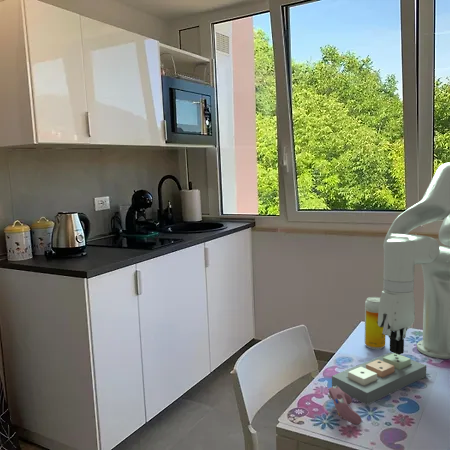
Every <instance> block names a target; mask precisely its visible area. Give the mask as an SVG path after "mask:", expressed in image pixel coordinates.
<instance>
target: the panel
mask: <svg viewBox="0 0 450 450" xmlns="http://www.w3.org/2000/svg"><path fill="white" fill-rule="evenodd" d="M390 354H393V352H390V351H389V352H388V353H385V354H382V355H380V356H378V357H375V358H373V359H370V360H368V361H366V362H363V363H360V364H358V365H356V366H353V367H350V368H348V369H346V370H343V371H341V372H338V373H335V374H334V375H332V376H331V387H333V386H334V387H336V385H337V387H339V388H340V389H341V390H342V391H343V392H345V393H346V394H348V395H349V396H350V397H351V399H355V400H357V401H359V402H360V403H362V404H365V405H367V406H368V405H370V404H372V403H374V402H376V401H378V400H380V399H382V398H384V397H386V396H389V395H390V394H393V393H394V392H396V391H399V390H400V389H403V388H405V387H408V385H412V384H414V383H415V382H417V381H420V380H421V379H423V378H425V377H427V365H426V364H423V363H421V362H419V361H415V360H413V359H411V365H409V366H407V367H405V368H403V369H401V370H398V369H396V368H394V373H392V374H389V375H387V376H385V377H383V378H382V377H380V376H377V380H376V381H374V382H372V383H369V384H367V385H365V386H363V385H361V384H359V383H357V382H355V381H353V380H351V379H348V372H349V371H351V370H354V369H356V368H359V367H363V368H366V364H368V363H371V362H373V361H376V360H381V361H383V357H385V356H388V355H390Z"/></svg>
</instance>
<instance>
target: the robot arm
mask: <svg viewBox="0 0 450 450" xmlns="http://www.w3.org/2000/svg"><path fill="white" fill-rule="evenodd" d="M428 184H429V185H428V186H427V188H426V190H425V193H423V196H422V198H421V199H420V201H419V202H417V203H415V204H413V205H412V206H410V207H408V208H407V209H406V210H405V211H403V212H401V213H399V215H398V216H396V218H394V220H393V222H392V223H391V225H390V227H389V229H388V230H387V232H386V235H385V238H384V240H383V245H382V247H383V248H382V249H383V280H382V281H383V284H382V285H383V287H382V291H381V294H380V296H379V297H380V303H379V312H378V326H379V327H383V334H384V335H385V336H386V337H387V336H388V338H389V353H390V352H392V353H395V354H398V355H402V354H404V353H405V351H404V349H405V339H406V335H407V331H408V330H409V329H410V328H411V327H412V325H414V323H415V318H416V307H415V306H416V302H415V293H414V292H415V266H416V265H421V271H422V276H423V314H422V315H423V316H422V317H423V318H422V340H420V341H418V342H417V344H416V349H417V351H419V353H421V354H424V355H425V356H428V357H431V358H437V359H444V360H450V162H445V163H443V164H441V165H439V166H438V168H436V171H435V173H434V174H433V176H432V179H431V181H430V182H429V183H428ZM440 220H443V221H442V223H441V226H440V228H439V231H438V240H439V242H440V243H441V244H442V246H441V245H440V244H439V242H438V240H437V239H435V238H434V237H431V236H427V235H421V234H413V233H410V232H411V231H413V230H414V229H417V228H418V227H421V226H423V225H427V224H430V223H434V222H437V221H440Z"/></svg>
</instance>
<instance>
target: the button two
mask: <svg viewBox="0 0 450 450" xmlns="http://www.w3.org/2000/svg"><path fill="white" fill-rule="evenodd" d="M366 369H368V370H370V371H373V372H375V373H377V376H380V377H382V378H383V377H385V376H387V375H389V374H392V373H394V365H391V364H389V363H386V362H383V361H381V360H376V361H373V362H371V363H368V364H366Z"/></svg>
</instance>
